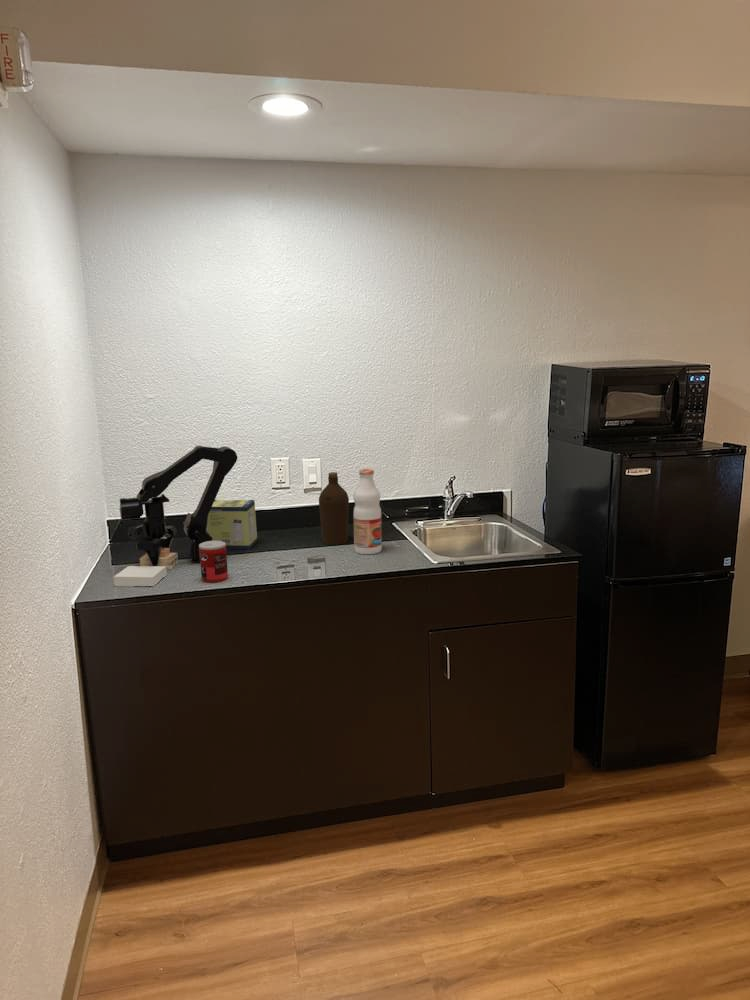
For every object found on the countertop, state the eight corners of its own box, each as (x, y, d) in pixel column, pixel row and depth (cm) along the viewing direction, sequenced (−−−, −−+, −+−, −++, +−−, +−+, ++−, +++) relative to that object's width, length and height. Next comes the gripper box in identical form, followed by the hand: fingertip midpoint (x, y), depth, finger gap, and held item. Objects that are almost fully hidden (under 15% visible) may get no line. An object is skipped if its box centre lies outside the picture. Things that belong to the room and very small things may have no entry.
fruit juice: (355, 546, 238) (353, 467, 232) (382, 546, 237) (381, 467, 231) (353, 554, 229) (350, 473, 222) (381, 555, 228) (379, 472, 222)
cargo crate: (170, 553, 222) (169, 547, 221) (165, 557, 218) (164, 551, 217) (152, 553, 222) (151, 547, 222) (147, 557, 218) (146, 551, 218)
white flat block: (166, 575, 211) (165, 566, 211) (153, 586, 202) (152, 577, 201) (129, 575, 213) (128, 565, 212) (114, 586, 203) (113, 576, 202)
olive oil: (351, 544, 240) (349, 475, 235) (321, 546, 239) (319, 476, 233) (348, 536, 251) (346, 469, 245) (319, 538, 249) (316, 471, 243)
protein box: (216, 541, 248) (213, 499, 245) (257, 541, 247) (255, 499, 243) (206, 549, 238) (203, 506, 235) (250, 549, 237) (247, 506, 233)
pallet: (178, 563, 223) (177, 552, 223) (170, 569, 217) (169, 558, 216) (148, 562, 224) (147, 552, 224) (140, 569, 218) (139, 558, 217)
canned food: (203, 575, 211) (200, 541, 209) (229, 573, 212) (227, 539, 210) (199, 583, 204) (196, 548, 201) (226, 582, 205) (224, 547, 202)
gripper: (143, 509, 227) (147, 554, 230) (117, 523, 209) (122, 572, 212) (175, 509, 226) (179, 554, 229) (152, 524, 208) (157, 572, 211)
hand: (159, 563), depth 221 cm, fingers closed on pallet, 6 cm apart
